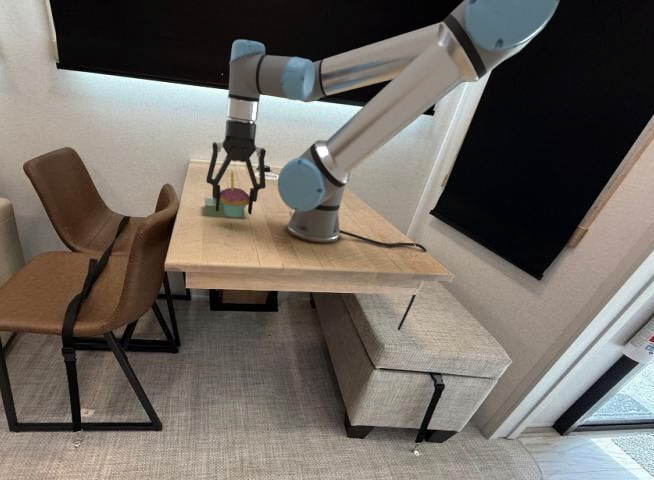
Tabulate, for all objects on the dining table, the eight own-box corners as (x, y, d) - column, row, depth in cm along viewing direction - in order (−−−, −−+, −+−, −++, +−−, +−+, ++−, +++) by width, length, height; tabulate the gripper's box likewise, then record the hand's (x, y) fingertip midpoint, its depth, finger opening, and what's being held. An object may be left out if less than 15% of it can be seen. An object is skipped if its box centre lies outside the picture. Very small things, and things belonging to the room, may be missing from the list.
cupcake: (234, 221, 88) (239, 174, 81) (211, 212, 91) (214, 167, 85) (253, 215, 94) (259, 172, 87) (231, 207, 98) (235, 165, 91)
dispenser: (241, 210, 108) (242, 195, 106) (243, 218, 102) (245, 202, 99) (204, 207, 106) (205, 191, 104) (204, 215, 100) (205, 198, 97)
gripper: (280, 124, 85) (268, 210, 97) (197, 113, 81) (195, 204, 93) (286, 127, 79) (272, 218, 91) (197, 115, 75) (194, 212, 87)
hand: (233, 211), depth 92 cm, fingers closed on cupcake, 8 cm apart
